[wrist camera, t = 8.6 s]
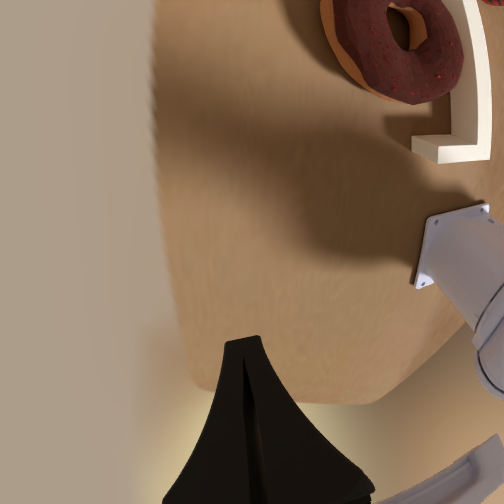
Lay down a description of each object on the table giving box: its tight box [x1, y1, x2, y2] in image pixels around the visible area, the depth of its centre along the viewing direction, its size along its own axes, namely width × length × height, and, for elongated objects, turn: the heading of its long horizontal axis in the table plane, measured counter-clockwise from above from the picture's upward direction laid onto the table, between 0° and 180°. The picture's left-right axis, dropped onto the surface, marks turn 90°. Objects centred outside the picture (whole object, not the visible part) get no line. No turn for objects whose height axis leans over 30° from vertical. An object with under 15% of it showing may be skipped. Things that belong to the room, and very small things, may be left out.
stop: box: [411, 0, 492, 164], centre depth 11 cm, size 6×16×3 cm, turn 11°
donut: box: [320, 0, 464, 105], centre depth 10 cm, size 10×10×4 cm
